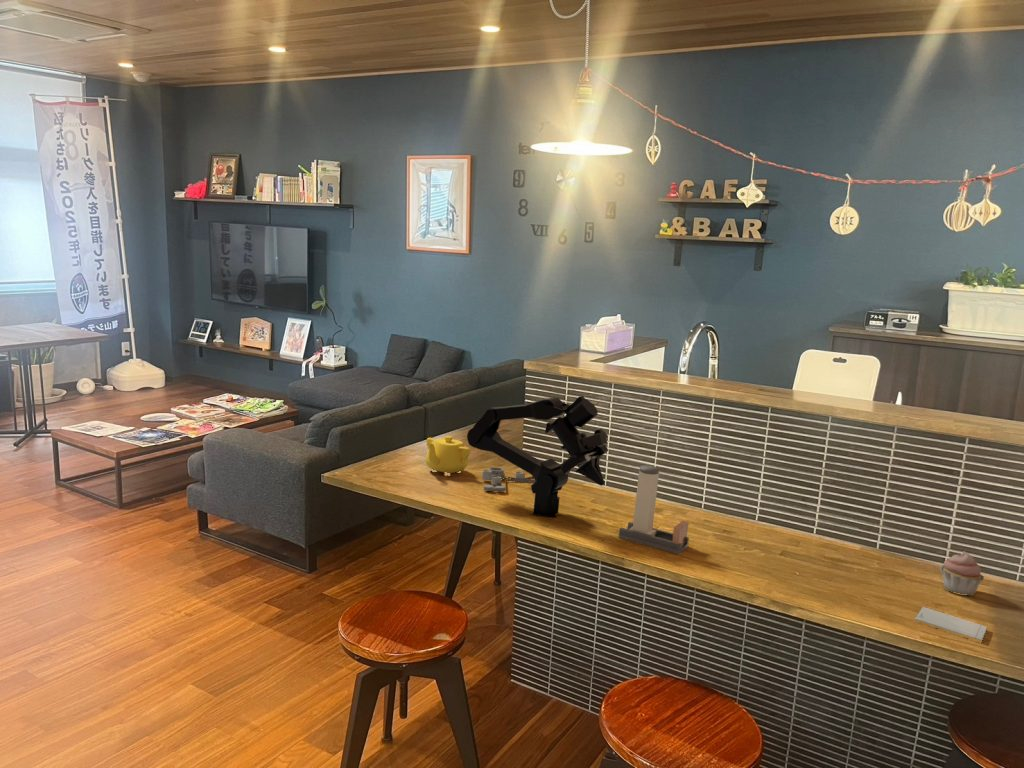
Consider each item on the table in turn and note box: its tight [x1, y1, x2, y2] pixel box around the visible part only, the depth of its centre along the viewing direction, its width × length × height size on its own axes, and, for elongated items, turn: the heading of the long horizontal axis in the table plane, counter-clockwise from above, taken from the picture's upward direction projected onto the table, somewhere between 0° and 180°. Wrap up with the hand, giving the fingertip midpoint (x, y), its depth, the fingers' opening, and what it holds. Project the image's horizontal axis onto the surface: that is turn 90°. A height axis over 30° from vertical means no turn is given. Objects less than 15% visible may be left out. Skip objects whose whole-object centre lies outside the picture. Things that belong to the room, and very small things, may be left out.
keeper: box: [629, 464, 660, 536], centre depth 195 cm, size 6×5×18 cm
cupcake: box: [939, 550, 985, 595], centre depth 179 cm, size 9×9×10 cm
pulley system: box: [481, 467, 536, 493], centre depth 238 cm, size 27×5×15 cm
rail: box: [617, 520, 690, 555], centre depth 195 cm, size 16×7×6 cm, turn 59°
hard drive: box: [914, 606, 988, 642], centre depth 160 cm, size 2×8×12 cm
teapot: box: [425, 435, 471, 474], centre depth 243 cm, size 14×14×12 cm
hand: (602, 484), depth 201 cm, fingers closed
